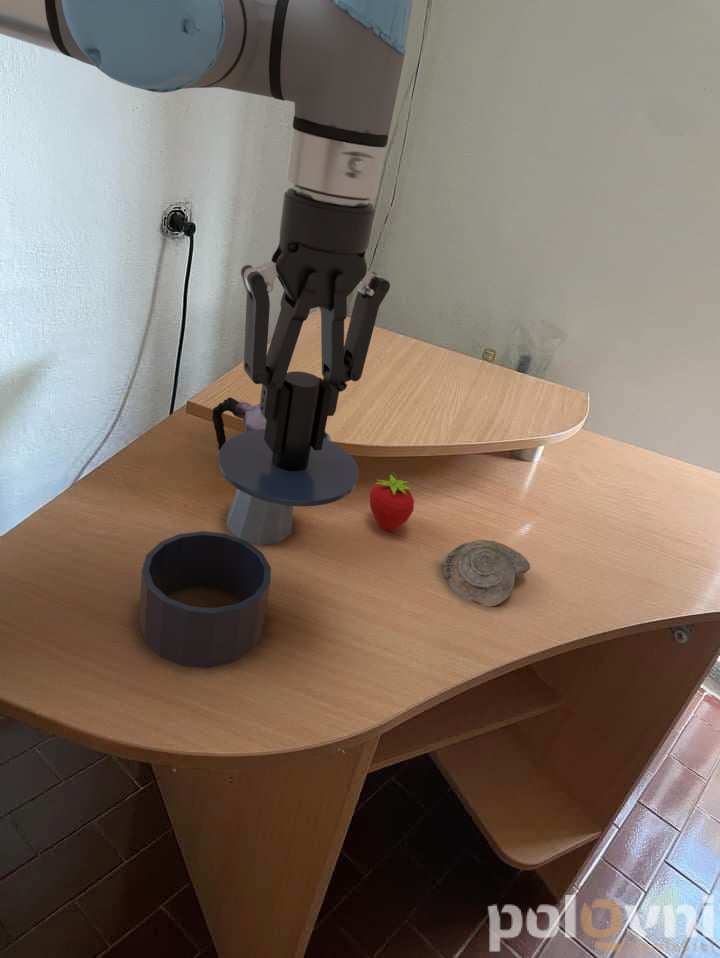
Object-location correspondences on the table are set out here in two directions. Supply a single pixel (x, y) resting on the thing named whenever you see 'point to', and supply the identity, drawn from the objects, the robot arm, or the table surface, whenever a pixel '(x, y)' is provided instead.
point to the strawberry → (391, 503)
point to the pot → (199, 628)
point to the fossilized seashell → (484, 571)
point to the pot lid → (291, 456)
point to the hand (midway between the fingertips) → (292, 444)
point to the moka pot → (247, 512)
